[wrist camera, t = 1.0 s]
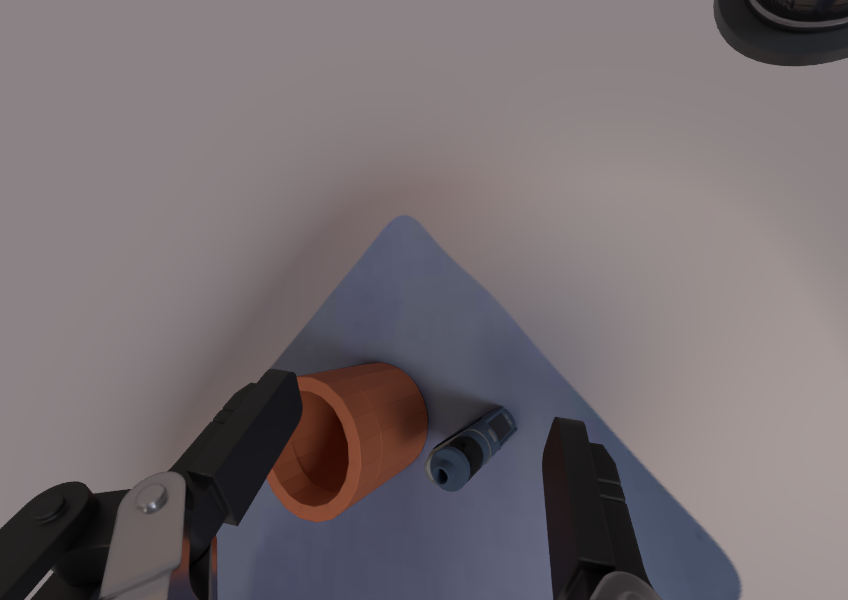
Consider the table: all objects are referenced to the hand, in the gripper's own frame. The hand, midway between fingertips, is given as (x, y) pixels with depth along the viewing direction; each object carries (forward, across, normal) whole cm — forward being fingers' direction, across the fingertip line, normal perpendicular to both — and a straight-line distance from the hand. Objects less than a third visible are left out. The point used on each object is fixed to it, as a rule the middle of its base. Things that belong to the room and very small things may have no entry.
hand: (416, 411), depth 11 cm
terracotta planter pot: (+16, +7, +20) cm, 27 cm away
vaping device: (+14, -4, +17) cm, 22 cm away
